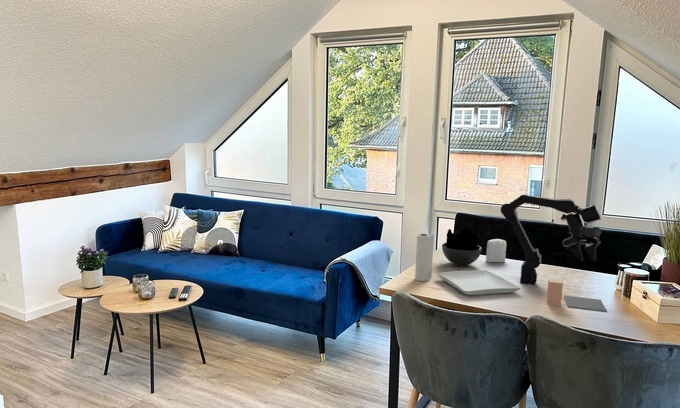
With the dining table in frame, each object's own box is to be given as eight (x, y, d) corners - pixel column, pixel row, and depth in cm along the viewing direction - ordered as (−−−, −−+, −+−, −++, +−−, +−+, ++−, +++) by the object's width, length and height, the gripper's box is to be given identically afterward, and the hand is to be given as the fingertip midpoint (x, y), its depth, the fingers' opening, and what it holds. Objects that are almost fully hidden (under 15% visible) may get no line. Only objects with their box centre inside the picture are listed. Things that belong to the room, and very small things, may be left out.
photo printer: (502, 260, 263) (504, 238, 261) (506, 262, 258) (508, 240, 257) (484, 260, 261) (486, 238, 260) (488, 262, 257) (489, 240, 255)
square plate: (464, 299, 200) (465, 290, 199) (434, 279, 226) (435, 271, 225) (521, 295, 207) (522, 286, 206) (486, 276, 233) (486, 268, 232)
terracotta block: (547, 304, 195) (549, 281, 194) (546, 301, 199) (548, 279, 197) (560, 306, 193) (562, 283, 192) (559, 303, 197) (561, 280, 196)
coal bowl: (485, 264, 254) (487, 229, 252) (473, 272, 238) (476, 235, 235) (448, 258, 265) (450, 224, 262) (435, 266, 248) (437, 230, 245)
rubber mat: (567, 307, 193) (567, 306, 192) (563, 296, 206) (563, 295, 206) (607, 312, 188) (607, 311, 188) (600, 300, 201) (600, 299, 201)
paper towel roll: (414, 280, 222) (416, 235, 219) (416, 277, 228) (418, 232, 225) (429, 282, 220) (432, 236, 217) (431, 278, 226) (433, 234, 223)
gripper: (579, 218, 200) (592, 254, 194) (605, 220, 210) (618, 254, 204) (556, 228, 209) (568, 263, 203) (582, 229, 218) (594, 262, 212)
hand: (588, 260), depth 205 cm, fingers open, 9 cm apart
